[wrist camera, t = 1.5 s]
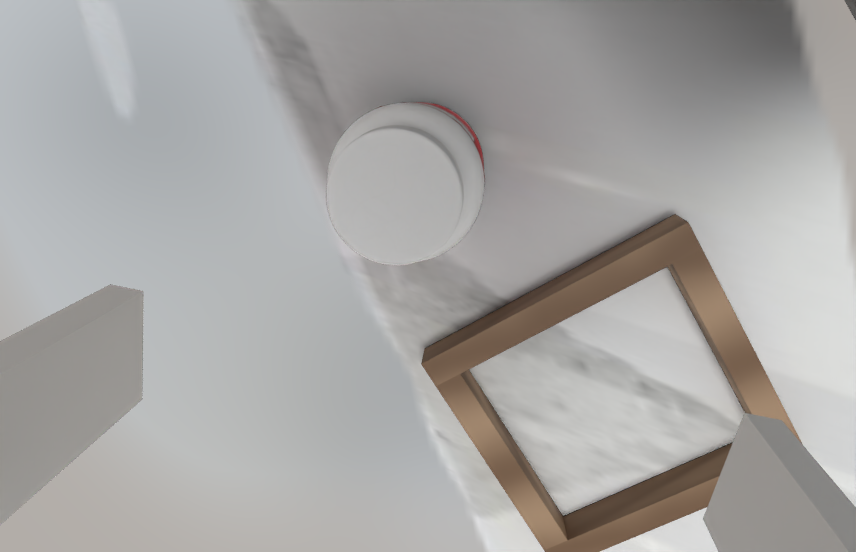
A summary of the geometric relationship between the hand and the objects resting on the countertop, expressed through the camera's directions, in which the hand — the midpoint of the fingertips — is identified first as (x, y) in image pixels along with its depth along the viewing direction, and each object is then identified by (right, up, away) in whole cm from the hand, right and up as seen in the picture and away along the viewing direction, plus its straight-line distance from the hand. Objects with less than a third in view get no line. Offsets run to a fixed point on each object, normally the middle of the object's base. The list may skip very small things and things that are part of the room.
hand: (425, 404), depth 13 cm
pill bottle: (0, +9, +18) cm, 20 cm away
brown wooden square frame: (+10, -4, +20) cm, 23 cm away
